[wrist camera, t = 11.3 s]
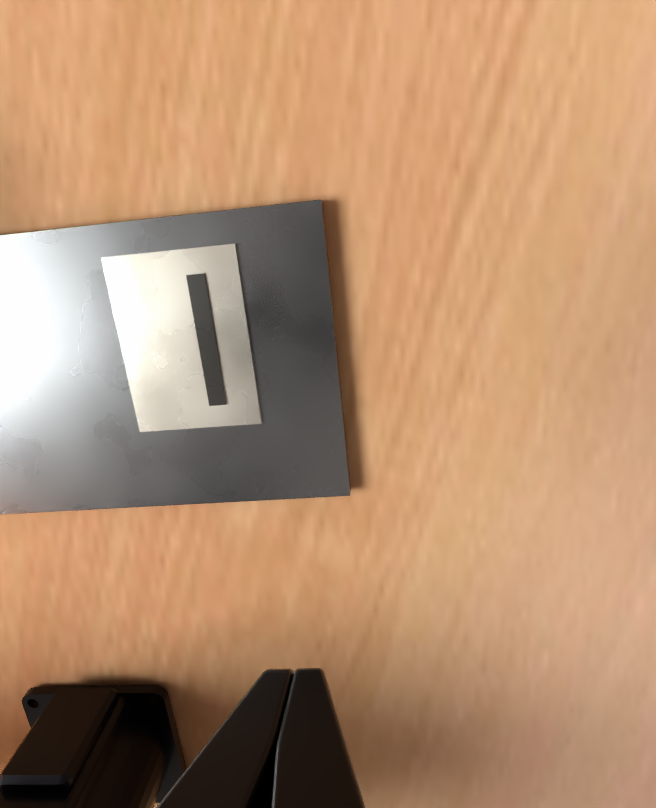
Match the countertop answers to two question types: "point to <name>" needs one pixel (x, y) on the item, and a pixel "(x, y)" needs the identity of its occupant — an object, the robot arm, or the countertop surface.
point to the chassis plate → (170, 363)
